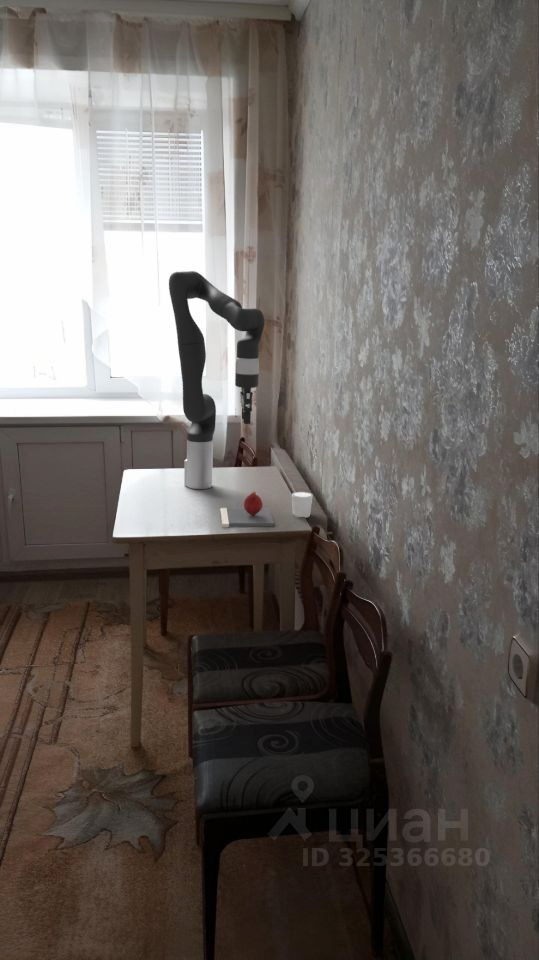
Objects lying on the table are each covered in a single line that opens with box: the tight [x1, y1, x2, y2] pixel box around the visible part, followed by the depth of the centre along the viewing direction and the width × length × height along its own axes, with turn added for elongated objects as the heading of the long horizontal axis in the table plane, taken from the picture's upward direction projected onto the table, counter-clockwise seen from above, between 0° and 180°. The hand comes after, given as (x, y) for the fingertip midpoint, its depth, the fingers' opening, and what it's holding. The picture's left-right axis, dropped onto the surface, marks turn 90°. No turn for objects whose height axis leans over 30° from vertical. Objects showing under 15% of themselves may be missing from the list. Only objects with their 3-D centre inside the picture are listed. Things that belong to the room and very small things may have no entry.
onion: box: [243, 490, 263, 516], centre depth 236 cm, size 6×6×8 cm
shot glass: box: [291, 491, 314, 519], centre depth 242 cm, size 7×7×7 cm
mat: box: [219, 507, 275, 528], centre depth 237 cm, size 16×16×1 cm
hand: (245, 421), depth 246 cm, fingers open, 8 cm apart
